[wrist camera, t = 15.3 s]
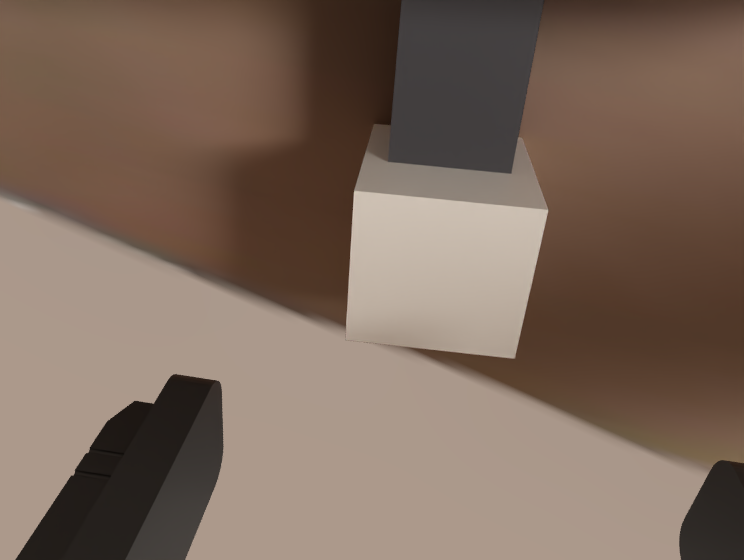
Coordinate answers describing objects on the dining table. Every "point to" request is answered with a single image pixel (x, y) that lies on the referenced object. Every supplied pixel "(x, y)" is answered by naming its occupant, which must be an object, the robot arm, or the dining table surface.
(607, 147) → the dining table surface
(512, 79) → the plug
